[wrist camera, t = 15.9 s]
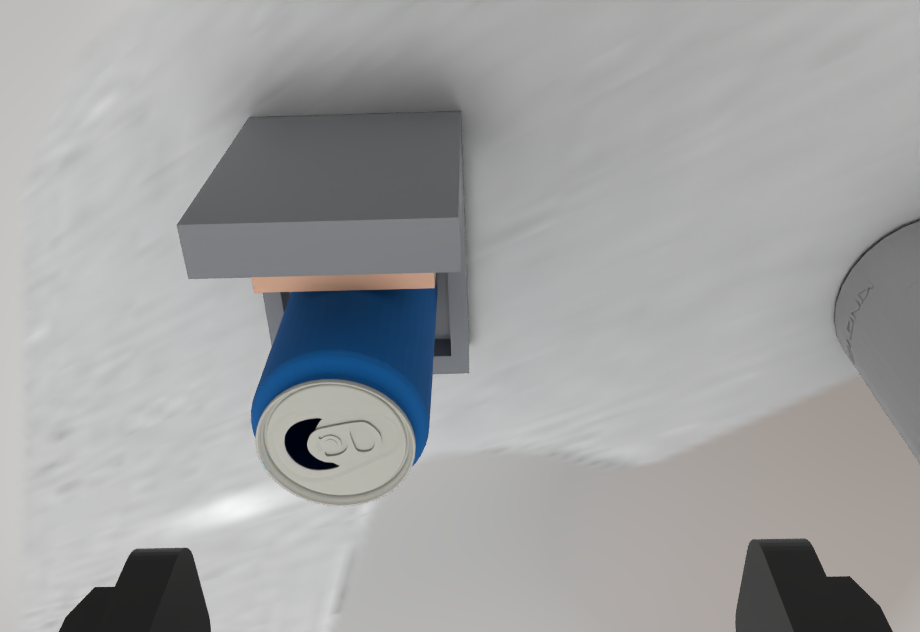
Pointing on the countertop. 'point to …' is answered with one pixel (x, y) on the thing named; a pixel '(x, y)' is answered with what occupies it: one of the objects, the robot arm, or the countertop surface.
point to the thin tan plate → (344, 282)
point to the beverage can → (347, 393)
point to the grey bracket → (340, 209)
